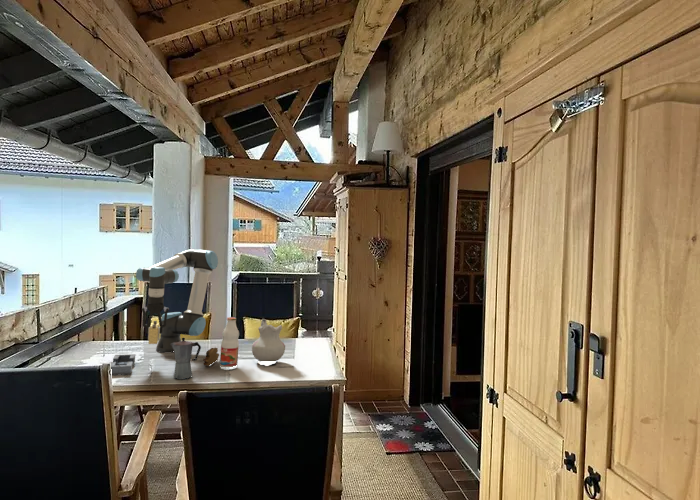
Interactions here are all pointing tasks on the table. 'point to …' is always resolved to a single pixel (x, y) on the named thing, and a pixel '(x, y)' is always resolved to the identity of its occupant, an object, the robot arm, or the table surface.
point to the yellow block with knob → (153, 333)
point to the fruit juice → (229, 344)
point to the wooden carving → (211, 356)
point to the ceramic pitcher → (268, 343)
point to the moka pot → (184, 358)
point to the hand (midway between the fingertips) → (153, 339)
